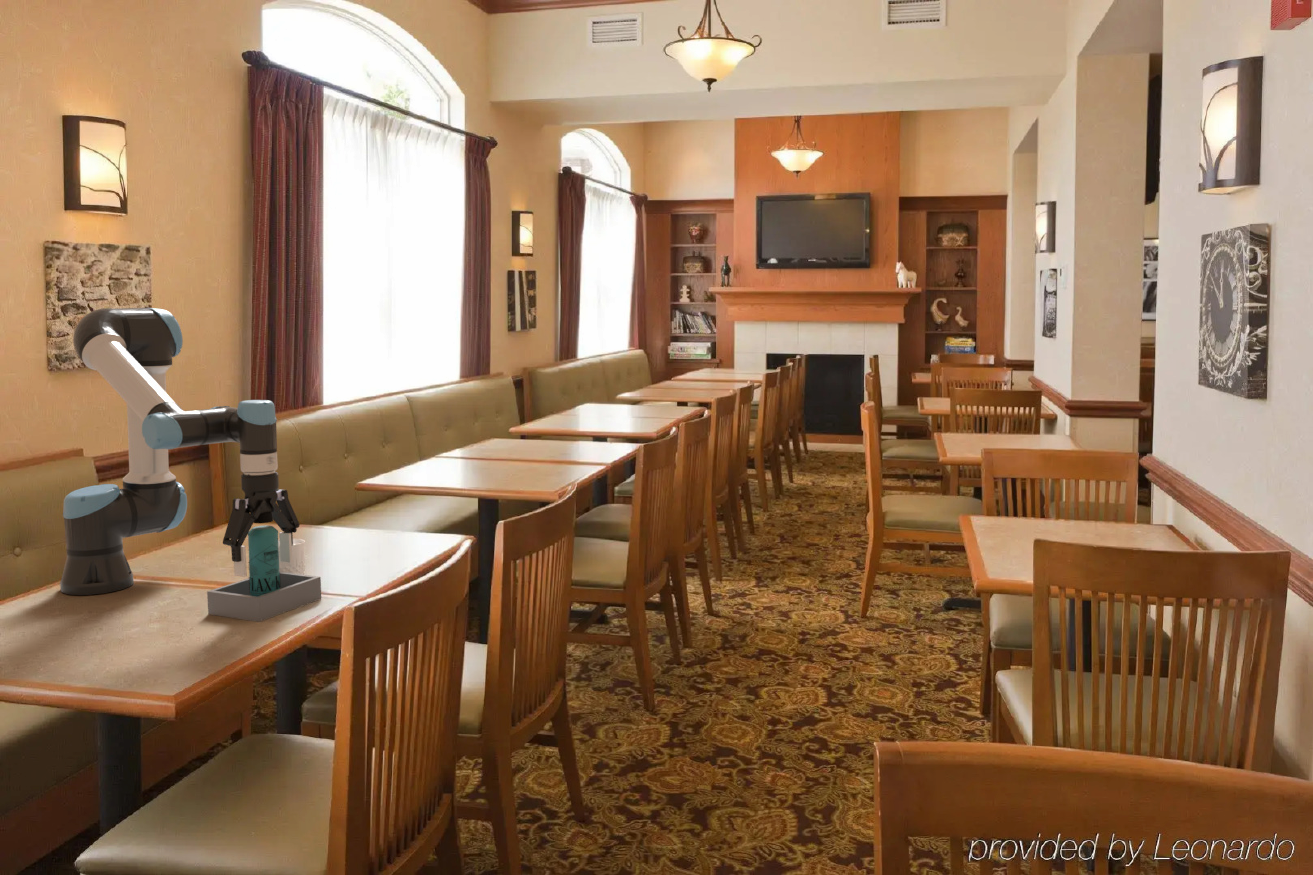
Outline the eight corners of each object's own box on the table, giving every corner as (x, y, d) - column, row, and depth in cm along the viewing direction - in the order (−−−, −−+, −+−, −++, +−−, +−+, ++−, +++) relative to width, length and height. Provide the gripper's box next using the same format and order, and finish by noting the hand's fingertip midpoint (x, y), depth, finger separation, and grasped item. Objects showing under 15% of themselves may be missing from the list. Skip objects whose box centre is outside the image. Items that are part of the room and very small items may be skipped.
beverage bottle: (243, 604, 230) (238, 513, 227) (264, 595, 236) (260, 507, 234) (267, 607, 228) (263, 516, 225) (288, 599, 234) (284, 510, 231)
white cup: (312, 579, 255) (310, 538, 253) (298, 588, 247) (296, 546, 246) (280, 578, 255) (278, 538, 254) (265, 587, 248) (263, 545, 246)
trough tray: (208, 614, 226) (207, 591, 226) (272, 592, 244) (271, 570, 243) (259, 621, 221) (257, 598, 220) (321, 598, 238) (320, 576, 237)
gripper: (228, 482, 216) (234, 584, 218) (313, 465, 238) (317, 557, 241) (201, 479, 219) (206, 580, 221) (287, 463, 241) (291, 554, 244)
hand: (264, 568), depth 231 cm, fingers open, 13 cm apart
